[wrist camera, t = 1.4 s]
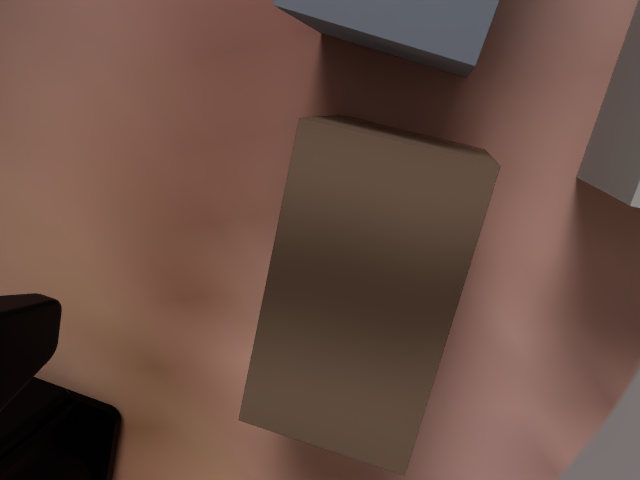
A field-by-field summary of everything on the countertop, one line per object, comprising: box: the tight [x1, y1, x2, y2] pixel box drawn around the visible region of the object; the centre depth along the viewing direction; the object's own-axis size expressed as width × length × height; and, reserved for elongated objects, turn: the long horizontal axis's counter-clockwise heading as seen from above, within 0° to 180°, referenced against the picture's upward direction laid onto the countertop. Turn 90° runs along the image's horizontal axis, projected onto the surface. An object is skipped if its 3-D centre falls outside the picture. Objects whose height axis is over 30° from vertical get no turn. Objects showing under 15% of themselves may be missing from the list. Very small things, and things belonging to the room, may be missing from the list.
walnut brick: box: [239, 115, 500, 476], centre depth 15 cm, size 8×4×5 cm, turn 167°
